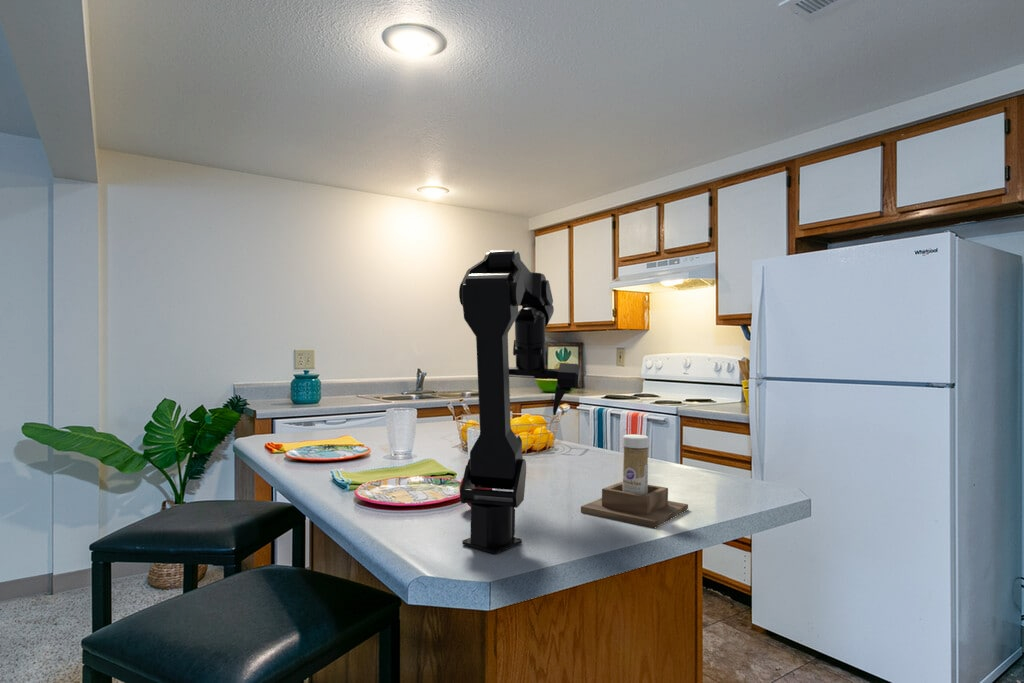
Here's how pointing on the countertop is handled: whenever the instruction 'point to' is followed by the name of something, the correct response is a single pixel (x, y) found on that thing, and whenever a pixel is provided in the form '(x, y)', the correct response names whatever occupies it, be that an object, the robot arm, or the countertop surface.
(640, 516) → the walnut collar holder
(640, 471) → the sprinkles bottle
